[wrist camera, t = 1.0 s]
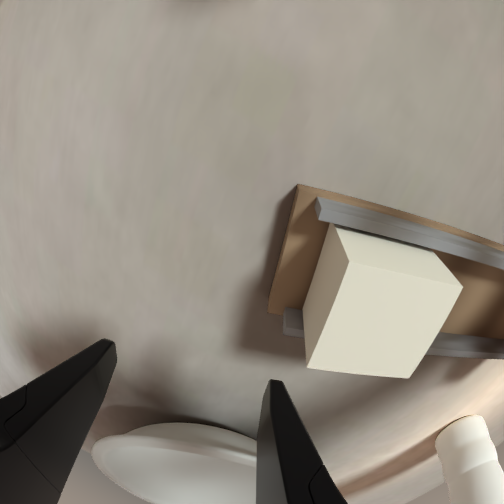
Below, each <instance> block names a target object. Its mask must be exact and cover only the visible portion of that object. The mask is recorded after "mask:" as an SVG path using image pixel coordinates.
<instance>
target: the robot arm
mask: <svg viewBox="0 0 504 504" xmlns="http://www.w3.org/2000/svg"><path fill="white" fill-rule="evenodd" d="M116 363H117V354H116V346H115V343H114V342H113V341H111V340H108V339H101V340H99V341H98V342H96V343H94V344H93V345H91V346H89V347H88V348H86V349H84V350H83V351H81V352H79V353H78V354H76V355H74V356H73V357H71V358H69V359H68V360H66V361H64V362H63V363H61V364H59V365H58V366H56V367H54V368H53V369H51V370H49V371H48V372H46V373H44V374H43V375H41V376H39V377H38V378H36V379H34V380H33V381H31V382H29V383H28V384H27V385H24V386H23V387H21V388H19V389H18V390H16V391H14V392H12V393H10V394H9V395H7V396H5V397H3V398H1V399H0V504H57V503H58V501H59V498H60V496H61V492H62V491H63V488H64V485H65V483H66V481H67V478H68V476H69V474H70V472H71V469H72V467H73V465H74V462H75V460H76V458H77V455H78V454H79V451H80V449H81V447H82V445H83V442H84V440H85V438H86V436H87V434H88V432H89V430H90V427H91V425H92V423H93V421H94V419H95V417H96V415H97V413H98V411H99V409H100V407H101V404H102V402H103V400H104V397H105V394H106V392H107V389H108V386H109V383H110V380H111V377H112V375H113V372H114V369H115V366H116ZM256 504H348V503H347V502H346V500H345V499H344V498H343V496H342V495H341V493H340V492H339V490H338V489H337V487H336V485H335V484H334V482H333V480H332V478H331V477H330V475H329V473H328V471H327V469H326V467H325V465H323V461H322V460H321V458H320V456H319V454H318V452H317V450H316V448H315V446H314V444H313V442H312V440H311V438H310V436H309V434H308V432H307V430H306V428H305V426H304V424H303V422H302V420H301V418H300V416H299V414H298V412H297V410H296V408H295V406H294V404H293V402H292V400H291V398H290V396H289V394H288V391H287V389H286V387H285V385H284V383H283V382H282V381H279V380H273V379H271V380H269V382H268V385H267V388H266V390H265V393H264V396H263V401H262V408H261V415H260V422H259V428H258V435H257V460H256Z"/></svg>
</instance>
